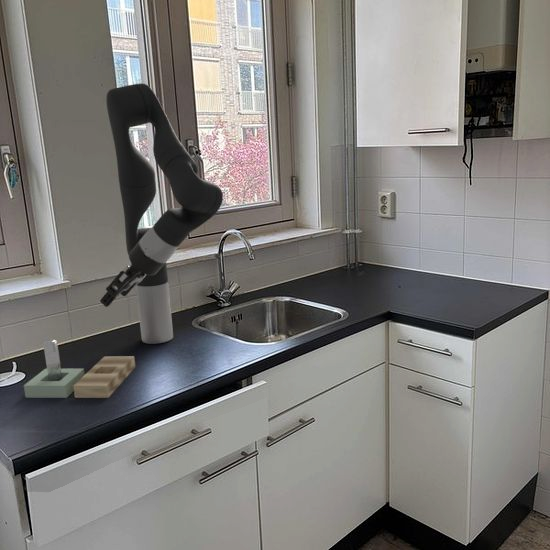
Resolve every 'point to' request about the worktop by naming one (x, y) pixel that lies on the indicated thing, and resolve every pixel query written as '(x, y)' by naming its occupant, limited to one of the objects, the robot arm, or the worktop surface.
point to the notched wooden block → (104, 377)
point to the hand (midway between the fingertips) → (112, 298)
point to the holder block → (53, 384)
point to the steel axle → (52, 360)
